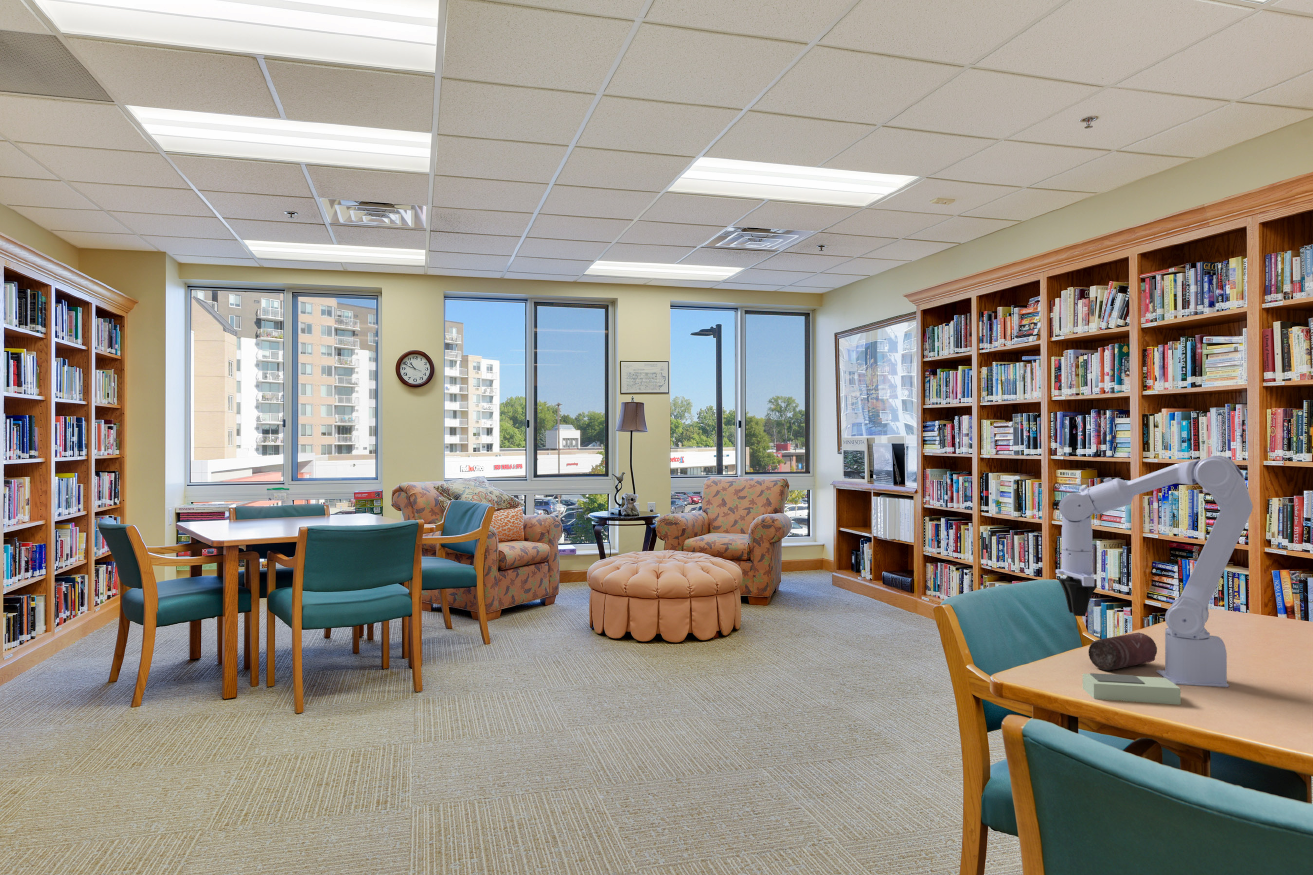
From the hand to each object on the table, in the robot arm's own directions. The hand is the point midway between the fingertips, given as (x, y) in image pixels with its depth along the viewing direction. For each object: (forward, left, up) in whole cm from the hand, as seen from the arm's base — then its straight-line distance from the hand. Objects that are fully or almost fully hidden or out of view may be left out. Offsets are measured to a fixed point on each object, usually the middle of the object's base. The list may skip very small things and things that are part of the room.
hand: (1077, 614), depth 164 cm
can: (-2, +6, -7) cm, 10 cm away
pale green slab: (-2, +23, -10) cm, 25 cm away
